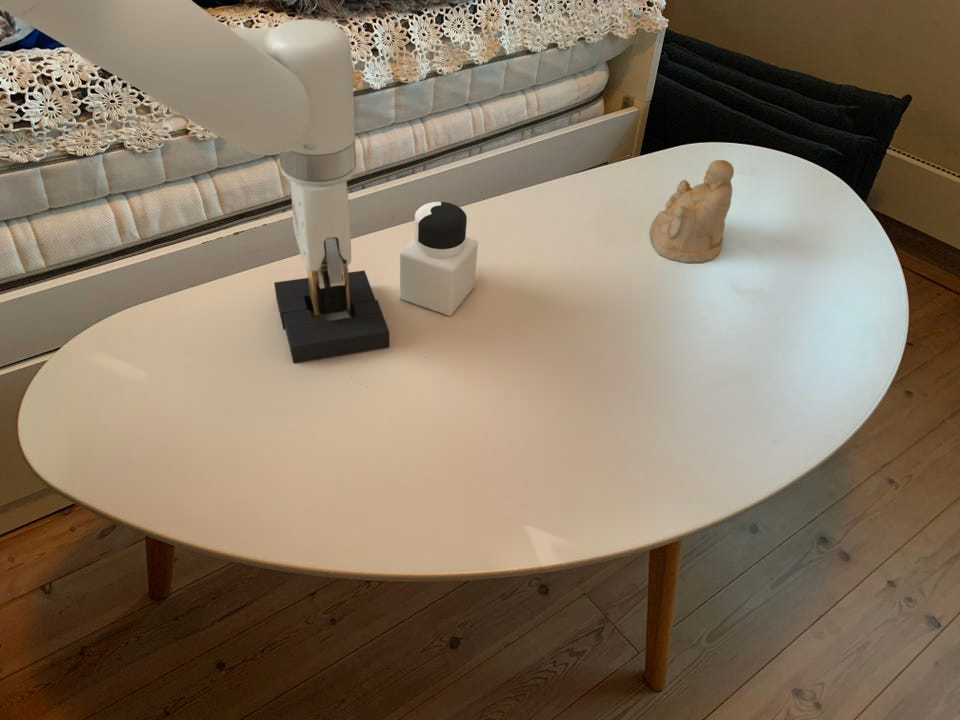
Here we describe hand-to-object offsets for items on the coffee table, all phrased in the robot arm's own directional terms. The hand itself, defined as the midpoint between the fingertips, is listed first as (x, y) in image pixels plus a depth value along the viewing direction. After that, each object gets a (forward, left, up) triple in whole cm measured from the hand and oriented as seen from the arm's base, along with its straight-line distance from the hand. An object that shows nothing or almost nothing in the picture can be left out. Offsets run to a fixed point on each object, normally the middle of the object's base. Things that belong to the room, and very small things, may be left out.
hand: (329, 297), depth 90 cm
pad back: (0, +3, -4) cm, 5 cm away
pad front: (0, -3, -4) cm, 5 cm away
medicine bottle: (+14, +2, -4) cm, 15 cm away
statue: (+52, +6, -4) cm, 52 cm away
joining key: (0, 0, -1) cm, 1 cm away
